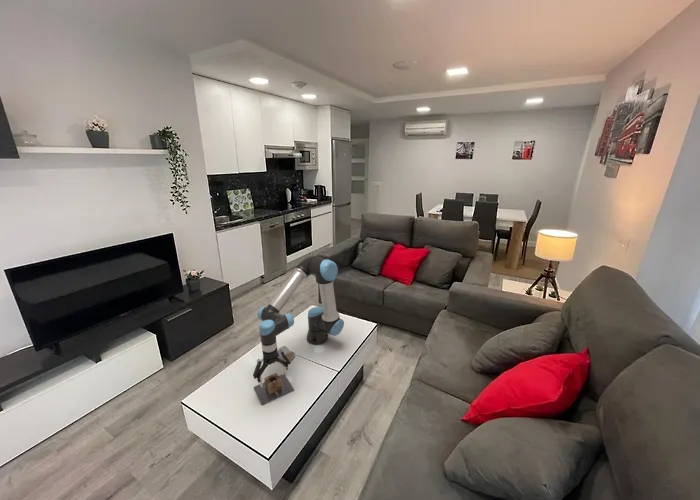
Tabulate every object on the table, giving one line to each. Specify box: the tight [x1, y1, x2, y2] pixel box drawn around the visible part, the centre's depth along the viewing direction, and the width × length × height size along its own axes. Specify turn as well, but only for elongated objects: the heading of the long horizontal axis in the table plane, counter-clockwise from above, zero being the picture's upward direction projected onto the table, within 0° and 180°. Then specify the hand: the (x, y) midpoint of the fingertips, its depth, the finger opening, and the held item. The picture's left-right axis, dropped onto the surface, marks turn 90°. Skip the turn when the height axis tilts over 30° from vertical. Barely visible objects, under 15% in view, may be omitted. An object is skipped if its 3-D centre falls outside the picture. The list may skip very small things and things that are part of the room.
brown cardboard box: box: [263, 372, 282, 395], centre depth 158 cm, size 7×7×6 cm
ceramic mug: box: [277, 345, 296, 362], centre depth 183 cm, size 11×8×8 cm
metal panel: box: [253, 373, 295, 406], centre depth 159 cm, size 18×14×5 cm
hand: (273, 380), depth 158 cm, fingers open, 13 cm apart
